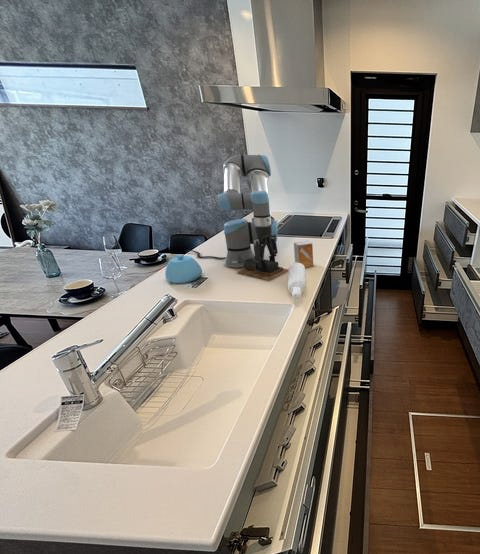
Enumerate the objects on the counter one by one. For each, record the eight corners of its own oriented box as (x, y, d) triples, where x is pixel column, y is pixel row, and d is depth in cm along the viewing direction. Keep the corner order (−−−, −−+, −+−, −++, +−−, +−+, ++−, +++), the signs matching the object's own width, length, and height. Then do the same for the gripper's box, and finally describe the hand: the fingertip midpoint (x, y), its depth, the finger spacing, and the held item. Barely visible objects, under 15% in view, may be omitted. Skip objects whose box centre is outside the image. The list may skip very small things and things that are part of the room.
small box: (299, 269, 159) (297, 245, 154) (295, 265, 164) (293, 242, 159) (313, 266, 163) (312, 243, 158) (309, 262, 168) (307, 240, 163)
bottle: (289, 277, 148) (287, 307, 122) (288, 262, 145) (285, 289, 118) (306, 276, 150) (307, 305, 123) (305, 261, 147) (306, 288, 120)
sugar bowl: (159, 281, 141) (152, 257, 136) (187, 270, 154) (182, 248, 149) (183, 286, 136) (177, 262, 131) (210, 274, 149) (205, 252, 144)
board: (237, 273, 152) (236, 262, 150) (258, 264, 164) (256, 254, 161) (269, 280, 144) (267, 270, 142) (288, 271, 156) (287, 261, 154)
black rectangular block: (258, 271, 151) (256, 262, 149) (266, 267, 156) (265, 258, 154) (270, 274, 148) (269, 265, 146) (278, 270, 153) (277, 261, 151)
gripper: (254, 230, 134) (260, 278, 143) (282, 222, 150) (286, 265, 159) (241, 228, 136) (248, 275, 146) (270, 220, 152) (275, 263, 162)
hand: (268, 270), depth 152 cm, fingers closed on black rectangular block, 6 cm apart
